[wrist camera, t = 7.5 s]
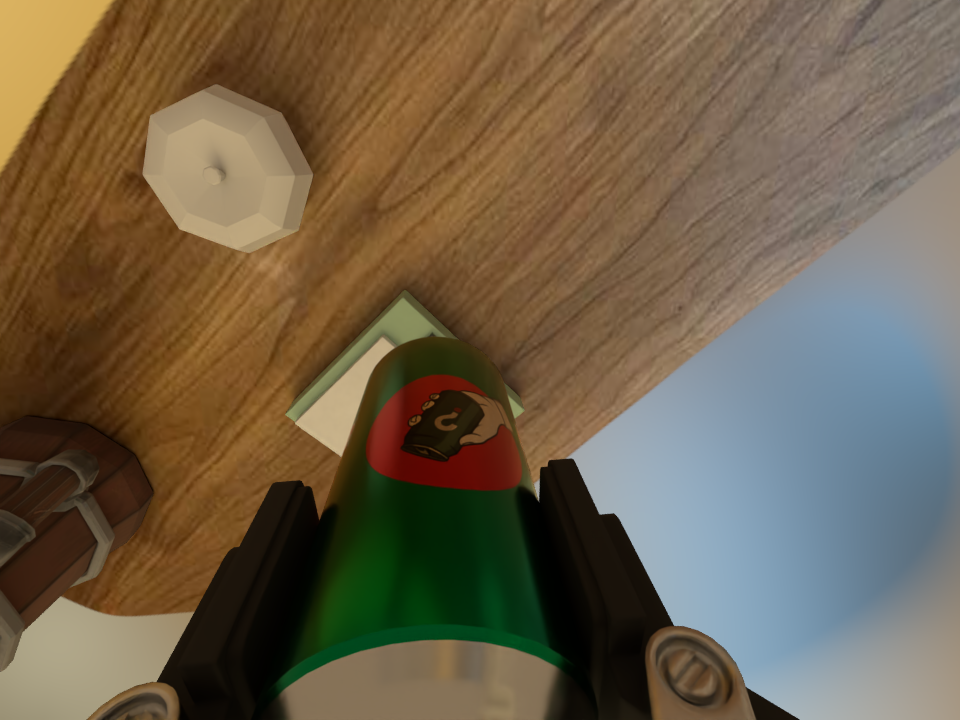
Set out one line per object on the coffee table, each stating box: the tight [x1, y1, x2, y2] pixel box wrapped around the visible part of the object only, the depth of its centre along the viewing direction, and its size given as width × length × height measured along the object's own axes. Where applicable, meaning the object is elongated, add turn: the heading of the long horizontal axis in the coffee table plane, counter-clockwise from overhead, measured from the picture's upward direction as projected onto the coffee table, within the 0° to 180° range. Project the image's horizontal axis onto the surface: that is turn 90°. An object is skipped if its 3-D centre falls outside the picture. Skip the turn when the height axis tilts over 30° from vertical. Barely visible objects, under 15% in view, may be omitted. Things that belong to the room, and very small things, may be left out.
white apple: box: [143, 84, 313, 253], centre depth 23 cm, size 8×8×7 cm
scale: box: [285, 290, 524, 457], centre depth 32 cm, size 12×12×3 cm
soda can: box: [251, 336, 599, 720], centre depth 11 cm, size 5×5×12 cm
